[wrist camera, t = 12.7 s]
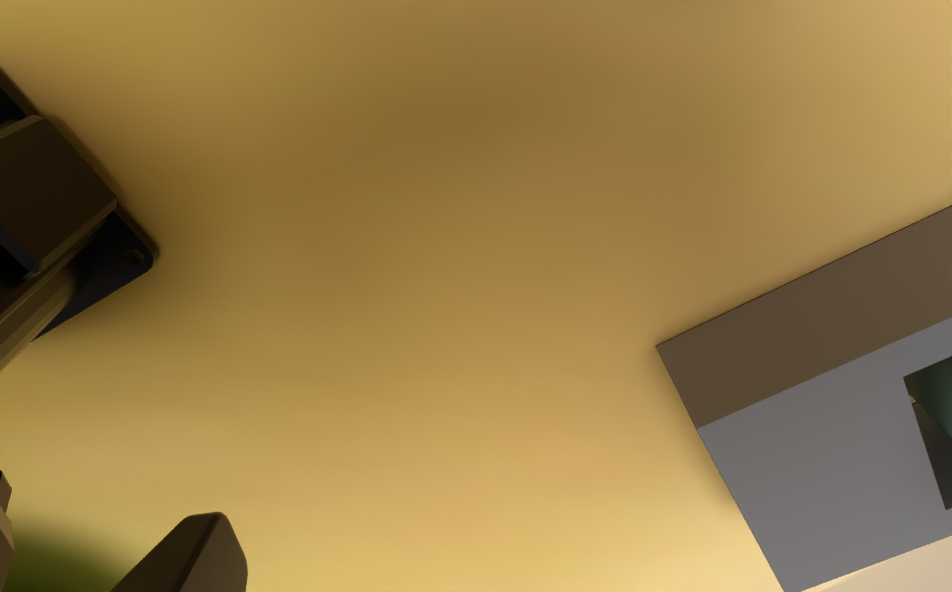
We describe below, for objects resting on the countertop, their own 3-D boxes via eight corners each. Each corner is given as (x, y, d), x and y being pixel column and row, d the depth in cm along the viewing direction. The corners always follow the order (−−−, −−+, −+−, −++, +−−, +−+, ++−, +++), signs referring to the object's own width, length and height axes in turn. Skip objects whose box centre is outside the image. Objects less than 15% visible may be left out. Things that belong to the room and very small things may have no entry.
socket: (739, 501, 25) (786, 596, 21) (655, 346, 21) (696, 429, 18) (1083, 361, 22) (1201, 442, 19) (1052, 158, 19) (1190, 212, 15)
